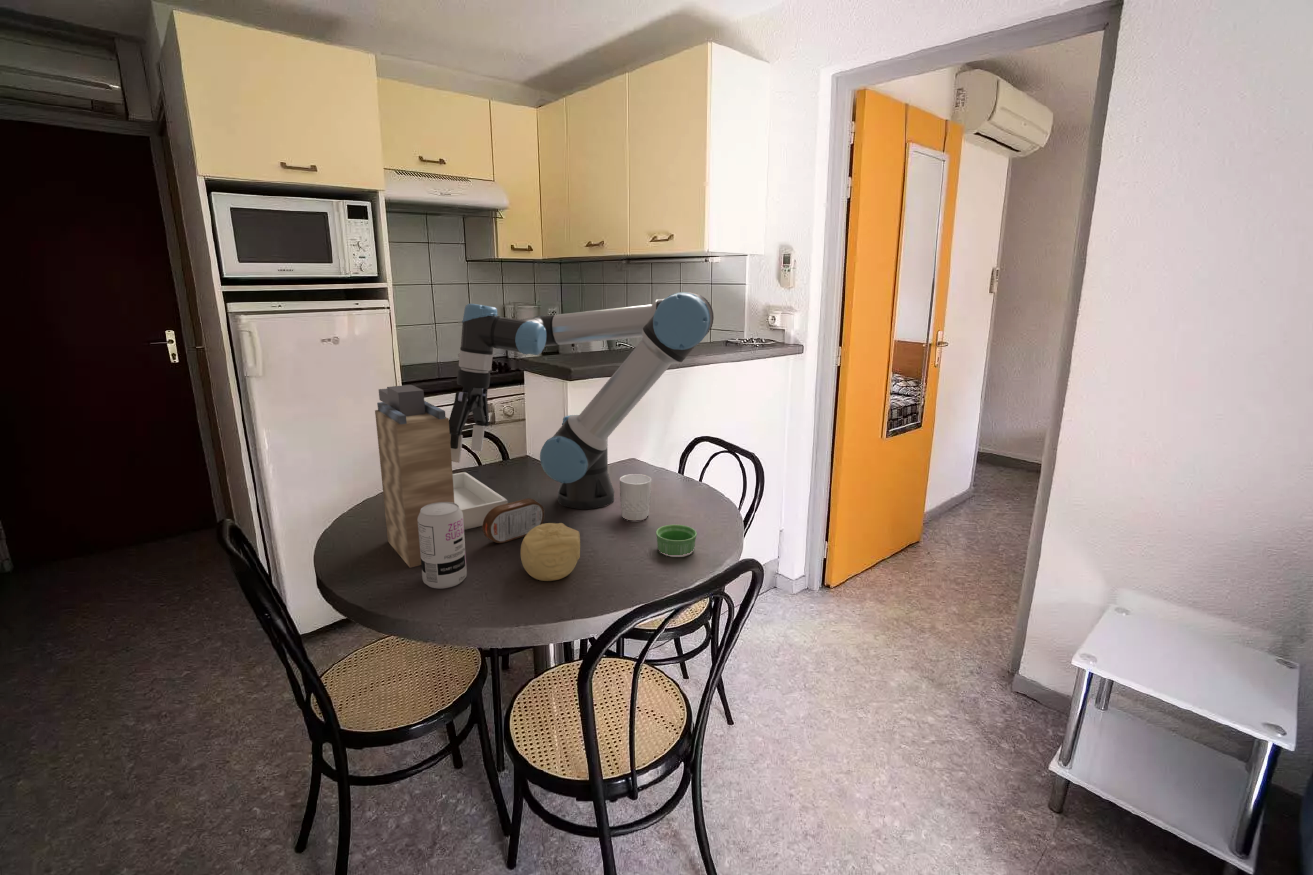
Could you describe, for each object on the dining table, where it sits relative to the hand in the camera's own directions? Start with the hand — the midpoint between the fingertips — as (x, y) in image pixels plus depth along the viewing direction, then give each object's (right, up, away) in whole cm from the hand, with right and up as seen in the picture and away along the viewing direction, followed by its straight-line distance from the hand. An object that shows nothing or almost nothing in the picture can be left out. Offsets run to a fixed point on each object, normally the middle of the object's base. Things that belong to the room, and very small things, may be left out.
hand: (465, 455), depth 151 cm
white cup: (+42, -16, +4) cm, 44 cm away
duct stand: (-4, -20, -16) cm, 26 cm away
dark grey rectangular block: (-9, +11, -17) cm, 22 cm away
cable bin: (-3, -14, +7) cm, 16 cm away
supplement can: (+5, -24, -30) cm, 39 cm away
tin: (+15, -19, -10) cm, 26 cm away
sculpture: (+25, -23, -27) cm, 44 cm away
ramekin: (+51, -21, -15) cm, 57 cm away
